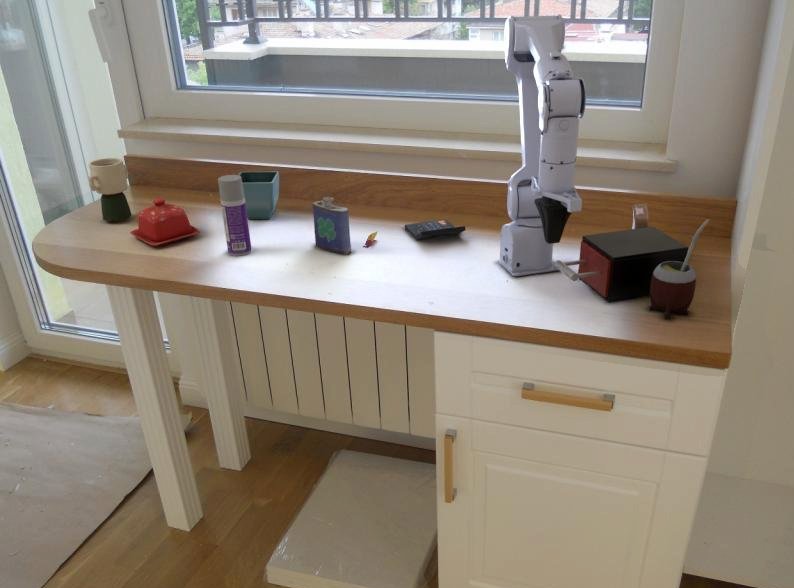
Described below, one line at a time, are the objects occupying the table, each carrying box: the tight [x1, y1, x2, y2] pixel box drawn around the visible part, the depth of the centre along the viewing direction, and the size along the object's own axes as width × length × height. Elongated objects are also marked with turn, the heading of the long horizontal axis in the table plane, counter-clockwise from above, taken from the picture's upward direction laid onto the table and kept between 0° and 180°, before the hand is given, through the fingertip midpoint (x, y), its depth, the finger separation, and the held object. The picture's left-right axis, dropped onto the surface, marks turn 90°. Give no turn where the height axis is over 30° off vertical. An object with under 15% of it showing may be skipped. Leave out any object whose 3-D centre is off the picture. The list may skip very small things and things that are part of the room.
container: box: [217, 174, 253, 257], centre depth 158 cm, size 5×5×15 cm
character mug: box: [88, 157, 133, 223], centre depth 178 cm, size 11×7×13 cm, turn 154°
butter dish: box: [129, 197, 201, 247], centre depth 168 cm, size 12×12×8 cm
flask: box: [312, 196, 352, 255], centre depth 159 cm, size 9×3×11 cm, turn 50°
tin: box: [631, 203, 650, 229], centre depth 155 cm, size 15×3×8 cm, turn 168°
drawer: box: [554, 241, 612, 297], centre depth 141 cm, size 19×10×7 cm, turn 107°
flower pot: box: [238, 170, 280, 220], centre depth 179 cm, size 9×9×9 cm
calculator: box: [404, 219, 466, 241], centre depth 168 cm, size 9×12×3 cm
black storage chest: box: [578, 226, 689, 303], centre depth 141 cm, size 14×11×8 cm
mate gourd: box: [649, 218, 711, 320], centre depth 130 cm, size 8×8×15 cm
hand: (552, 241), depth 134 cm, fingers closed
